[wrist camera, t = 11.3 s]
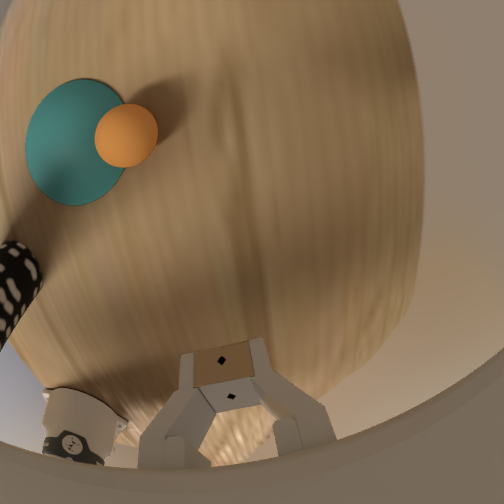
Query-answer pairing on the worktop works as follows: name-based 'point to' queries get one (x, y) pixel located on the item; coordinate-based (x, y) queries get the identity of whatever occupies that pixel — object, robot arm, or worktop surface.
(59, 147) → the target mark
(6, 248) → the spotted tube
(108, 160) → the ball
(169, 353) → the worktop surface
